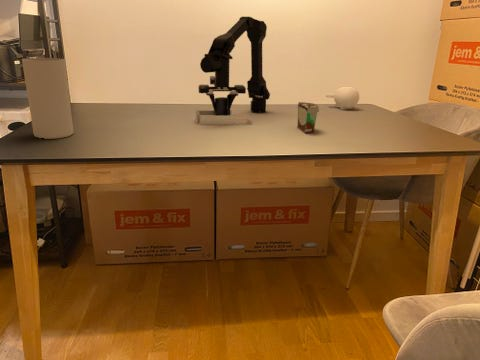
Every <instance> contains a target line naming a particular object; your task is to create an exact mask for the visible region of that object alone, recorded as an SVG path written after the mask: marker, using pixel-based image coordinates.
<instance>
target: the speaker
mask: <svg viewBox="0 0 480 360" xmlns="http://www.w3.org/2000/svg"><path fill="white" fill-rule="evenodd" d="M229 98H230V93H228V94H227V95H226V97H223V96H221V97H214V99H215V115H230V110H231V109H230V110H229Z"/></svg>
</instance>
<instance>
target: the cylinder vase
mask: <svg viewBox="0 0 480 360" xmlns="http://www.w3.org/2000/svg"><path fill="white" fill-rule="evenodd" d="M21 63H22V69H23V74H24V82H25V87H26V95H27V100H28V107H29V112H30V114H29V115H30V120H31V128H32V131H33V136H34V137H35V138H37V137H38V139H41V138H44V139H43V140H57V139H63V138H67V137H70V136H72V135H73V134H74V126H73V125H74V124H73V118H72V117H73V116H72V108H71V99H70V92H69V91H70V90H69V83H68V75H67V74H68V73H67V67H66V59H65V58H56V57H34V58H33V57H29V58H22V59H21Z"/></svg>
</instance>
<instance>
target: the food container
mask: <svg viewBox="0 0 480 360" xmlns="http://www.w3.org/2000/svg"><path fill="white" fill-rule="evenodd" d="M319 108H320V107H319V105H318V104H316V103H314V102H313V103H312V102H305V101H303V102H302V101H301V102H299V101H298V104H297V125H296V128H297V129H298V130H299V131H300V132H302V133H304V134H313V133H314V132H315V127H316V120H317V116H318V112H320V109H319Z"/></svg>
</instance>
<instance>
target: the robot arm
mask: <svg viewBox="0 0 480 360" xmlns="http://www.w3.org/2000/svg"><path fill="white" fill-rule="evenodd" d="M267 27H268V26H267V24H266V23H265V21H264V20H258V19H256V18H253V17H252V16H241V17H239V19H238V20H237V21H236V22H235V23H234V24H233V25H232V27H231V28H230V29H229V30H227V31H226V32H225V33H224V34H220V35H218V36H216V37H215V38H214V39H213V41H212V43H211V45H210V47H209V50H208V52H207V53H205V54H204V57H202V59H201V60H200V65H199V67H200V69H201V71H202V72H204V73H205V74H207V73H214V75H210V76H209V84H210V85H214V86H210V85H209V84H199V85H198V93H199V94H205V95H206V96H208V97H209V99H210V101H211V105H212V108H213V110H214V111H215V94H214V92H229V94H230V98H229V110H231V107H232V105H233V103H234V101H235V98H236V97H237V96H239V94H241V95H242V94H247V95H248V98H249V99H251V101H250V111H251V112H252V113H267V109H266V108H267V101H268V100H269V99H270V97H271V93H270V91H269V89H268V87H267V81H266V79H265V78H264V76H263V42H264V40H265V38H266V37H267V29H268V28H267ZM245 32H246V36H247V38H248V41H250V56H251V57H250V61H251V64H250V65H251V66H250V67H251V77H250V78H249V80H247V81H246V85H247V87H245V85H243V84H234V86H230V60H233V56H232V55H231V53H232V51H233V49H234V48H235V47H236V44H235V43H237V41H238V39H239V38H241V36H242V35H243V34H244V33H245ZM246 89H247V90H246ZM246 91H247V92H246Z"/></svg>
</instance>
